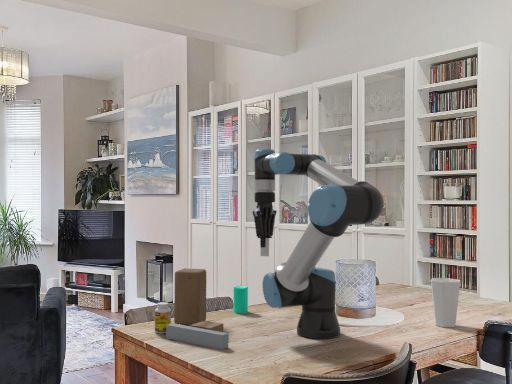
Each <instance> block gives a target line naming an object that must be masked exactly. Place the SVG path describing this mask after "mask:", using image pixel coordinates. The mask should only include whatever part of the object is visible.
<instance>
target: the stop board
mask: <svg viewBox="0 0 512 384" xmlns="http://www.w3.org/2000/svg"><path fill="white" fill-rule="evenodd" d="M165 334H166V335H165V336H166V338H165V339H167V338H168V340H172V339H173V341H176V342H177V341H178V342H183V343H187V344H188V343H189V344H193V345H197V346H203V347H208V348H213V349H217V350H225V349H228V348H229V333H228V332H224V331H223V332H218V331H213V330H207V329H202V328H196V327H190V325H179V324H175V322H173V323H171V324H168V325H166V333H165Z"/></svg>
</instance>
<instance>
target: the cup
mask: <svg viewBox="0 0 512 384" xmlns="http://www.w3.org/2000/svg"><path fill="white" fill-rule="evenodd" d="M429 281H430V287H431V296H432V304H433V305H432V306H433V308H432V309H433V316H434V324H435V326H436V327H440V328H455V327H456V324H457V323H456V322H457V313H458V306H459V296H460V295H459V294H460V288H461V287H460V286H461V280H460V279H455V278H449V277H432V278H431V279H430V280H429Z"/></svg>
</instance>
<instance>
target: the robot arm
mask: <svg viewBox="0 0 512 384" xmlns="http://www.w3.org/2000/svg"><path fill="white" fill-rule="evenodd" d="M253 160H254V161H253V162H254V191H256V192H254V202H255V203H256V209H255V210H252V215H253V219H254V226H255V234H256V238H257V239H259V241H260V244H259V245H260V257H270V239H273V235H274V227H275V221H276V220H275V219H276V216H277V210H275V209H274V206H273V203H275V202H276V193H275V191H276V175H287V176H288V175H289V176H290V175H291V176H306V177H308V178H309V179H311V180H313V181H314V182H316V183H317V184H319V186H318V187H317V188H315V189H314V190H313V191H312V193H311V194H310V197H309V198H308V205H307V214H308V218H309V222H310V223H309V224H308V225H307V227H306V229H305V231H304V233H303V234H302V236H301V237H300V238H299V241H298V242H297V244H296V246H295V247H294V249H293V251H292V252H291V254H290V255H289V257H288V259H287V260H286V262H283V263H281V264H280V265H278V266H277V268H276V270H275V271H274V272H269V273H266V274H264V276H263V279H262V294H263V297H264V300H265V302H266V304H267V305H268V306H269V307H270V308H272V309H277V308H279V309H282V308H291V307H299V306H300V307H301V313H300V316H299V319H298V323H297V326H296V333H297V335H298V336H300V337H302V338H303V337H304V338H307V339H318V340H320V339H321V340H323V339H324V340H325V339H334V338H337V337H340V336H341V325H340V323H339V320H338V316H337V313H336V284H337V282H336V274H335V273H336V272H335V271H333V270H332V269H329V268H323V267H317V265H318V263H319V262H320V260H321V258H322V257H323V255H324V254H325V252H326V251H327V250H328V248H329V247H330V245H331V244H332V242H333V241H334V239H335V238H338V237H341V236H342V235H343V234H344V233H345V232H346V230H347V229H348V227H350V226H357V225H358V226H359V225H360V226H361V225H362V226H363V225H367V224H371V223H373V222H375V221H376V220H377V219H378V218H379V217H380V216H381V214H382V212H383V210H384V204H385V203H384V197H383V195H382V193H381V192H380V190H379V189H378V188H377V187H375V186H374V185H372V184H371V183H369V182H367V181H365V180H360V181H358V180H357V179H355V178H353V177H351V176H350V175H349V174H346V173H345V172H343V171H341V170H339V169H338V168H336V167H334V166H332V165H330V164H329V163H327V160H326V159H325V157H324V155H320V154H315V153H314V154H310V153H307V154H306V153H305V154H304V153H289V152H286V151H284V152H282V151H278V152H276V151H275V150H274V149H271V148H262V149H256V150H255V152H254V159H253Z"/></svg>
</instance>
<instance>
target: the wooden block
mask: <svg viewBox="0 0 512 384" xmlns="http://www.w3.org/2000/svg"><path fill="white" fill-rule="evenodd" d="M173 303H174V307H173V308H174V310H173V311H174V318H173V319H174V321H173V323H174V324H180V325H185V326H190V325H193V324H196V323H199V322H202V321H207V320H206V319H207V270H206V269H205V268H182V269H180V270H177V271H175V272H174V302H173Z"/></svg>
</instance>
